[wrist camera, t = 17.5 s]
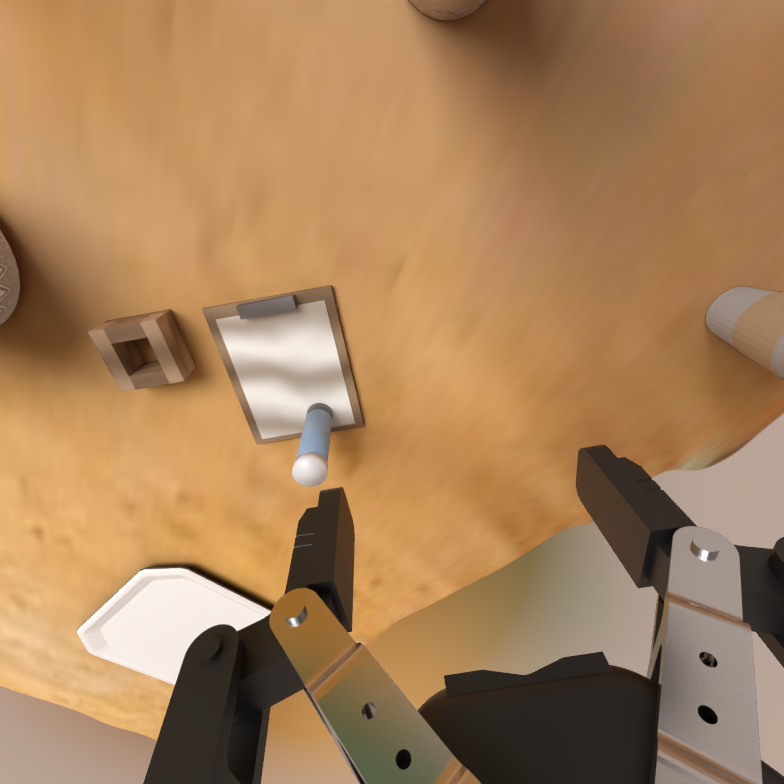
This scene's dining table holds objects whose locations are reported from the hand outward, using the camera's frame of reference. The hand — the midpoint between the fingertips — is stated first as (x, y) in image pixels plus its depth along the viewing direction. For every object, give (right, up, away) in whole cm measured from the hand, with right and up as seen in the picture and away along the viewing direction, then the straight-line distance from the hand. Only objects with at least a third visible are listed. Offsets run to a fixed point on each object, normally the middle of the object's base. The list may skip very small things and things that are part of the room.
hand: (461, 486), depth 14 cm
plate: (-37, -37, +56) cm, 77 cm away
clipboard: (-14, +6, +34) cm, 37 cm away
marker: (-11, 0, +36) cm, 38 cm away
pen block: (-29, +8, +31) cm, 43 cm away
